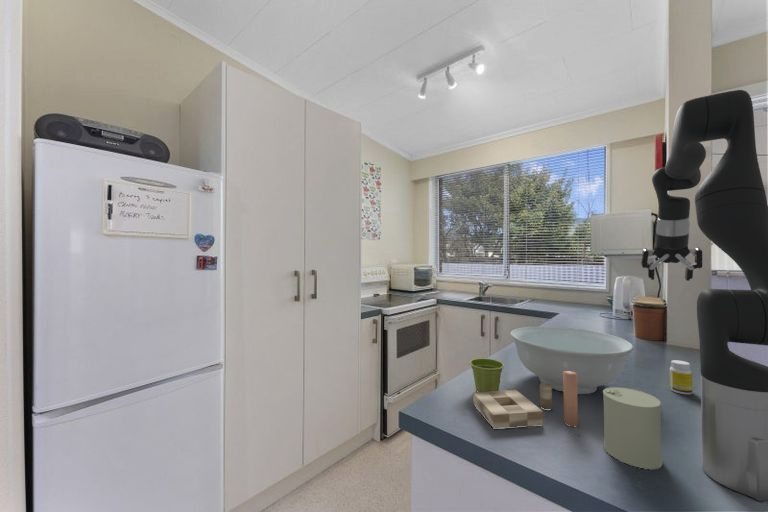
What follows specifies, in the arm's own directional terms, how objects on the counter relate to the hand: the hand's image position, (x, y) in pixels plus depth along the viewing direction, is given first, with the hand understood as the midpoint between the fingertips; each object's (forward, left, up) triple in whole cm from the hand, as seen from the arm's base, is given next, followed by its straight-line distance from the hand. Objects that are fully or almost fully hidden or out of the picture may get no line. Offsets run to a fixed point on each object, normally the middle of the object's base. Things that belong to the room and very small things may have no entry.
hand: (669, 279), depth 103 cm
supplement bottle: (-11, +9, -32) cm, 34 cm away
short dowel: (-15, +53, -31) cm, 63 cm away
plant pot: (-4, +64, -32) cm, 71 cm away
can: (-35, +48, -32) cm, 67 cm away
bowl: (-1, +37, -32) cm, 49 cm away
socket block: (-17, +65, -31) cm, 74 cm away
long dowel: (-23, +52, -31) cm, 65 cm away
